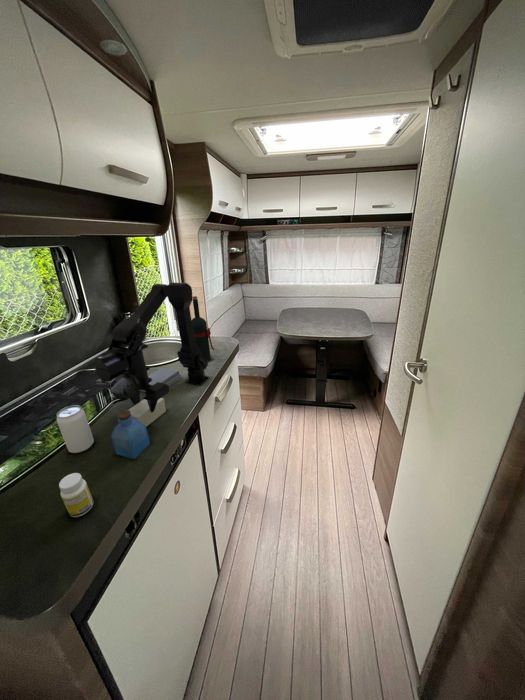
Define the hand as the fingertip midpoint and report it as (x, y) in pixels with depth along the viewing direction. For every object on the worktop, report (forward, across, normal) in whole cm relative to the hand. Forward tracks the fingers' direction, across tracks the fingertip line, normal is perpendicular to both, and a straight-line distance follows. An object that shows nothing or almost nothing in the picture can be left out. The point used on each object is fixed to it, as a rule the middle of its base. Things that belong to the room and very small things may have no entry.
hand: (145, 409), depth 89 cm
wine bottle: (+4, -9, +45) cm, 46 cm away
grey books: (+4, -12, +19) cm, 23 cm away
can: (+4, -8, -17) cm, 19 cm away
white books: (+4, 0, 0) cm, 4 cm away
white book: (0, 0, 0) cm, 0 cm away
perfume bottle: (+4, +7, -12) cm, 14 cm away
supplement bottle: (+4, +11, -30) cm, 32 cm away
